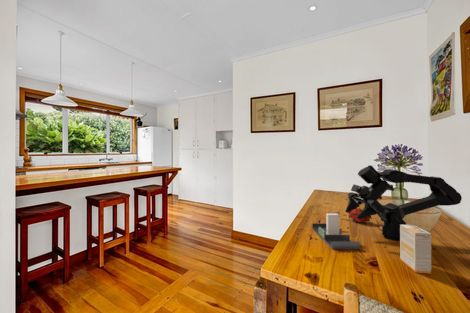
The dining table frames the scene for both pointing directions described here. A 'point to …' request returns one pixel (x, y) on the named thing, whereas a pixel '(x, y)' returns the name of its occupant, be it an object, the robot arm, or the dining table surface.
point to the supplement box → (415, 248)
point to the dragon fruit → (355, 213)
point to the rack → (335, 238)
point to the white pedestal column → (332, 224)
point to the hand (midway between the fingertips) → (351, 215)
